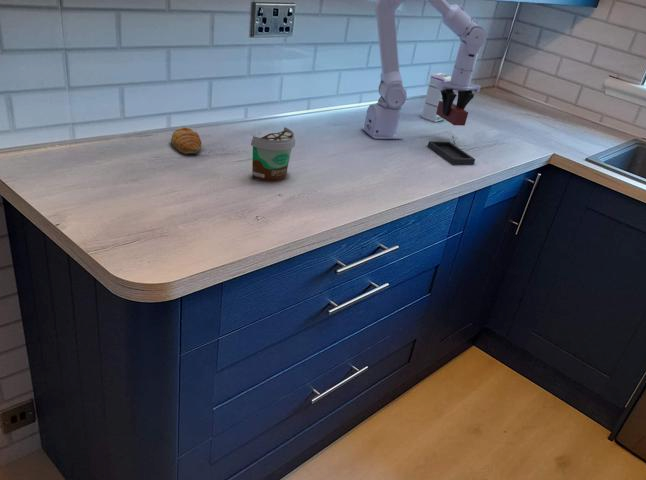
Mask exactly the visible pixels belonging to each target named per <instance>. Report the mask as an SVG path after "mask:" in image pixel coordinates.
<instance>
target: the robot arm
mask: <svg viewBox="0 0 646 480" xmlns="http://www.w3.org/2000/svg"><path fill="white" fill-rule="evenodd" d="M405 1H406V0H376V1H375V15H376V26H377V35H378V36H377V37H378V46H379V47H378V48H379V57H380V67H381V73H380V75H379V77H380V82H379V85H378V94H379V95H380V97H379V98H378V100H377V102H376V103H373V104H369V106H368V107H367V109H366V114H365V120H364V124H363V127H362V128H361V129H362V130H363V131H364V132H365V133H366V134H368V135H369V136H370V137H371V138H373V139H374V140H378V139H379V140H401V139H402V137H401V136H400V135H399V134H397V131H398V126H399V122H400V117H401V112H402V109H403V105H404V104H405V103H406V101H407V98H408V97H407V91H406V89H405V88H404V86H403V79H402V76H401V73H400V63H399V62H400V61H399V50H398V37H397V36H398V35H397V25H396V13H395V12H396V11H397V9H398V8H399V7H400V6H401V5H402V3H404V2H405ZM424 1H425V2H427V3H428V4H429V5H430V6H431V7H432V8H433V9H434V10H436V11H437V12H438V13H439V14H440V15H441V22H442V24H444V26H446V27H447V28H448V29H449V30H450V31H451V32H452V33H453V34H455V35H456V37H458V38H459V40H460V44H459V47H458V51H457V55H456V58H455V61H454V66H453V70H452V74H451V76H452V77H451V81H445V82H438V83H437V87H436V89H438V90H441V94H442V100H443V114H444V115H445V116H448V115H449V112H450V109H451V106H452V103H453V104H454V101H455V99H456V98H457V101H456V105H457V106H458V107H460V108H462V109H464V110H465V108H466V107H467V106H468V104H469V103H470V102H471V101H472V100H473V99H474V98H475V94H474V93H476V94H478V93H480V92H481V87H482V86H481V85H479V84H477V83H471V82H472V78H473V74H474V70H475V68H476V63H477V59H478V56H479V53H480V49H481V47H483V46H484V45H485V43H486V41H487V38H486V36H487V34H486V31H485V28H483V26H481V25H479V24H477V23H476V22H477V19H476V18H474V17H471V16H470V15H469V14H468V13H467V12H466V11H465V7H464V6H463V5H461V4H460V5H458V4H457V3H456V4H449V2H447V0H424ZM455 92H457V94H456V93H455Z"/></svg>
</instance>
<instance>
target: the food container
mask: <svg viewBox="0 0 646 480" xmlns="http://www.w3.org/2000/svg"><path fill="white" fill-rule="evenodd" d="M294 133H295V132H293V130H291V129H290V128H288V127H286V126H284V127H283V130H282V131H279V132H272V133H268V134H266V135H264V136H262V137H259V136H258V137H257V136H256V135H253V136H252V138H251V142H250V146H252V163H251V165H252V167H251V173H252V174H251V178H252V179H255V180H259V181H262V182H268V183H269V182H270V183H271V182H281V181H283V180H285V179H286V177H287V172H288V168H289V163H290V158H291V154H292V149H293V148H294V147H295V146H296V136H295V134H294Z"/></svg>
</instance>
